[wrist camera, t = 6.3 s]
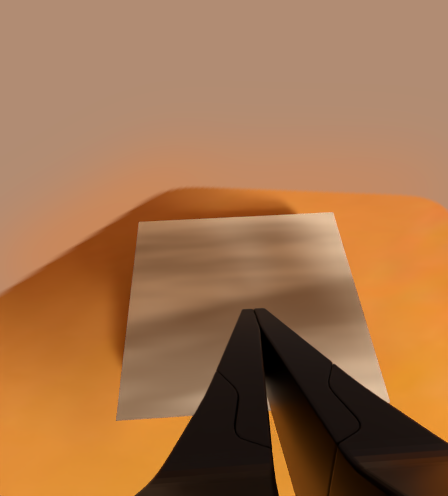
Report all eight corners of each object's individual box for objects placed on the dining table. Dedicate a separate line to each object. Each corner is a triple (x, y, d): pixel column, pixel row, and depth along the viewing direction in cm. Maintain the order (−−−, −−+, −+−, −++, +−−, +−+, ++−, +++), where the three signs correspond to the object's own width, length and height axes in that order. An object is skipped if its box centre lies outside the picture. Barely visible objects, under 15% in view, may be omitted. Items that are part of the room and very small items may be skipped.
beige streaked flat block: (390, 402, 10) (333, 212, 15) (116, 420, 10) (138, 221, 14) (356, 393, 13) (316, 235, 17) (138, 407, 13) (152, 243, 17)
